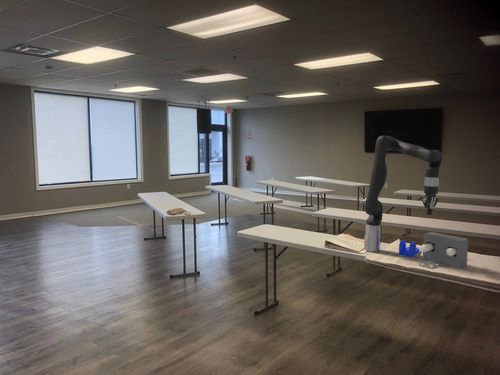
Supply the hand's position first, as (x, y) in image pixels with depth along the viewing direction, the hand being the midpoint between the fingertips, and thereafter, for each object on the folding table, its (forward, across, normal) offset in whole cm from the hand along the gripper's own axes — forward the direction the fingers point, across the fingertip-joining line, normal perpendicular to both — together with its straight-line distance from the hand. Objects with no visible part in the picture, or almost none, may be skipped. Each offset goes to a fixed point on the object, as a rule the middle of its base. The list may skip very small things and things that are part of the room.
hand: (429, 214), depth 225 cm
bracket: (+30, -11, -18) cm, 36 cm away
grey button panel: (+29, -8, +6) cm, 30 cm away
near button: (+22, -7, +12) cm, 26 cm away
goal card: (+29, +5, +4) cm, 29 cm away
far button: (+22, -2, -1) cm, 22 cm away
